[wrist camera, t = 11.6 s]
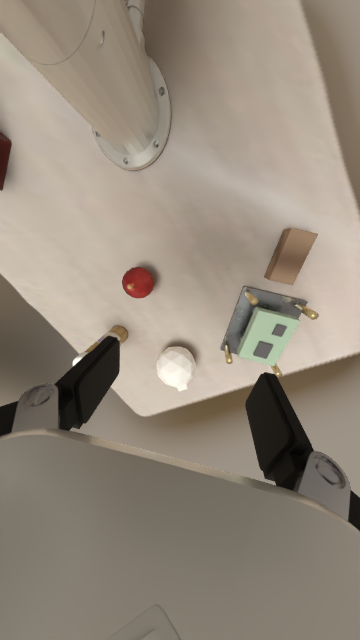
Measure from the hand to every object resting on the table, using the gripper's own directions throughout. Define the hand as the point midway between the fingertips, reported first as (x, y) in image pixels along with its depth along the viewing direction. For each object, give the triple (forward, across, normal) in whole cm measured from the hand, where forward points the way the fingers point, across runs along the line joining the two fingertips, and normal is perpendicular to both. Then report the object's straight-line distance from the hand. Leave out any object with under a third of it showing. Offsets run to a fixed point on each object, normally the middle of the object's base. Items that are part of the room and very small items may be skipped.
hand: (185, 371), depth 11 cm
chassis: (+25, -14, +7) cm, 30 cm away
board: (+21, -14, +6) cm, 26 cm away
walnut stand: (+26, -14, -7) cm, 30 cm away
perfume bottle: (+25, +1, +20) cm, 32 cm away
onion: (+26, +12, +2) cm, 29 cm away
